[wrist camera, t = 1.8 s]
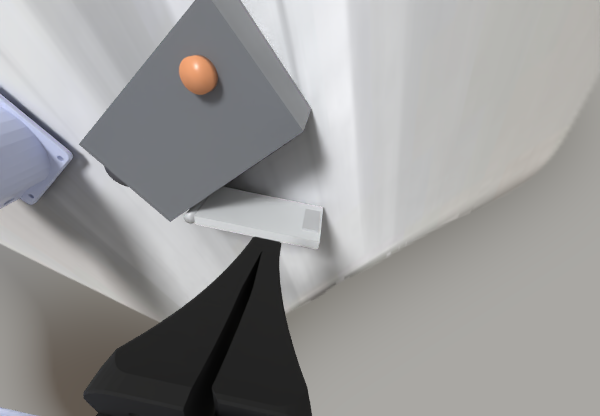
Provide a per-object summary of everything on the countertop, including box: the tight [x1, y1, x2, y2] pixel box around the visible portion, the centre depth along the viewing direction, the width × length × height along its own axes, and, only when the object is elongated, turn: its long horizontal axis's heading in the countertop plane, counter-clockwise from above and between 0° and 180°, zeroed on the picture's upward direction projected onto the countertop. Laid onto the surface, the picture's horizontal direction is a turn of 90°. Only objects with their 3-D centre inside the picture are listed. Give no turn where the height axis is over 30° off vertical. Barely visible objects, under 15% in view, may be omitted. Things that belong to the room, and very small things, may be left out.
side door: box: [184, 187, 323, 250], centre depth 19 cm, size 10×1×4 cm, turn 81°
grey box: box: [79, 0, 311, 222], centre depth 16 cm, size 13×7×5 cm, turn 126°
